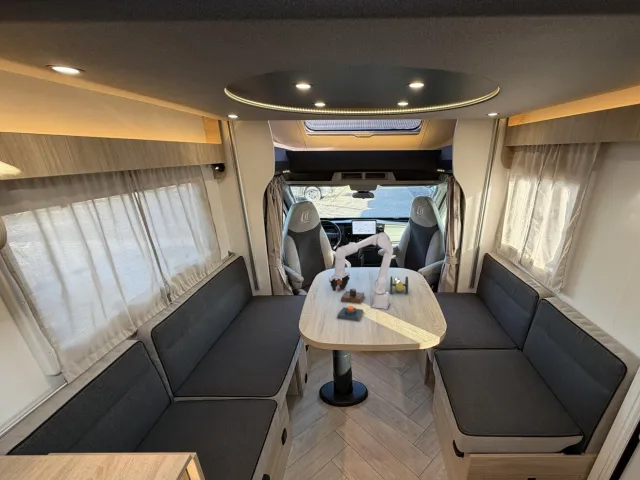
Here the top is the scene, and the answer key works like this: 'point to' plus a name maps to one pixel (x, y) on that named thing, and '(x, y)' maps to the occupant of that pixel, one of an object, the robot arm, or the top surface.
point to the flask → (350, 314)
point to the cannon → (398, 284)
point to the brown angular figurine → (340, 285)
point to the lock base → (352, 297)
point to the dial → (352, 292)
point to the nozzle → (350, 308)
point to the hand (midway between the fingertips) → (338, 289)
